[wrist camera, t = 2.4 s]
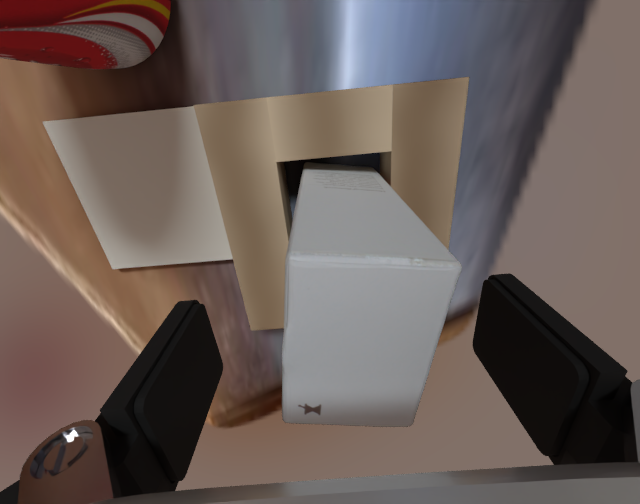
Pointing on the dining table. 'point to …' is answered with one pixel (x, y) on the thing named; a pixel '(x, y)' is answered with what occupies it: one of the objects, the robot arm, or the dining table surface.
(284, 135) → the holder block
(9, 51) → the soda can
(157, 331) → the robot arm
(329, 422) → the skincare box
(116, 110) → the dining table surface
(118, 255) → the coaster
